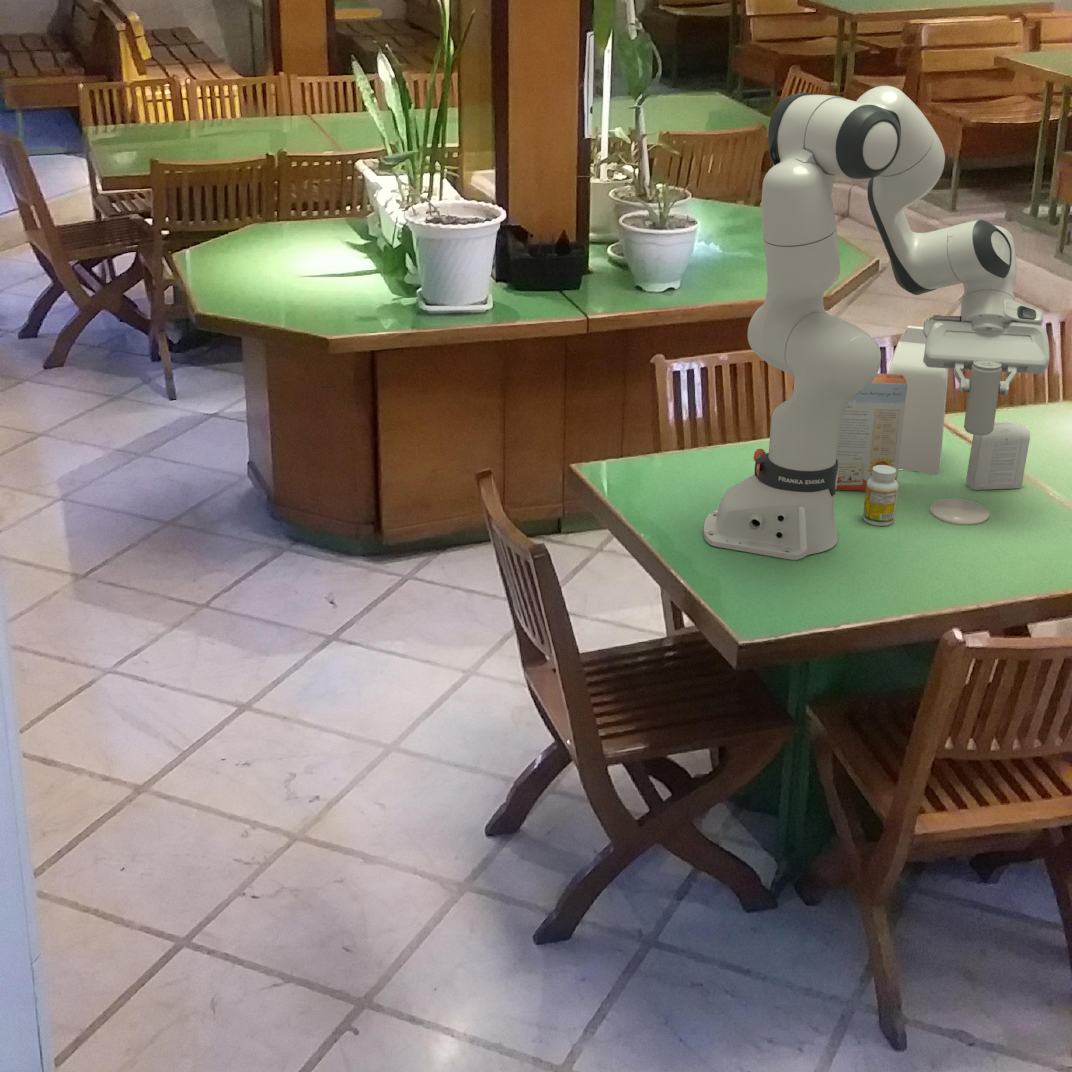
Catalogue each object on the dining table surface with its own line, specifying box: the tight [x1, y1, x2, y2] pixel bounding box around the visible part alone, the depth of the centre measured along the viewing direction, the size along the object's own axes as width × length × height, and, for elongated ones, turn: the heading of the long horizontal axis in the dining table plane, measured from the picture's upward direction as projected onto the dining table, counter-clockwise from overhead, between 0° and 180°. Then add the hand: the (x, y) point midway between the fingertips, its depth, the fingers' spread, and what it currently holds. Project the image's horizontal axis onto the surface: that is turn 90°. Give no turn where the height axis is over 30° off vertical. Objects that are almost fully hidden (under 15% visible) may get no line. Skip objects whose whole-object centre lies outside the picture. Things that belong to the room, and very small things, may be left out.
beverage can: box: [963, 360, 1003, 436], centre depth 243 cm, size 5×5×12 cm
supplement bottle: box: [862, 465, 899, 527], centre depth 250 cm, size 5×5×10 cm
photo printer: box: [965, 421, 1031, 490], centre depth 264 cm, size 10×4×12 cm, turn 98°
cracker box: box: [836, 373, 907, 492], centre depth 262 cm, size 14×6×21 cm, turn 84°
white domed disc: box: [929, 498, 990, 526], centre depth 255 cm, size 10×10×1 cm
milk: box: [887, 325, 949, 475], centre depth 273 cm, size 12×12×26 cm
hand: (983, 391), depth 242 cm, fingers closed on beverage can, 5 cm apart
